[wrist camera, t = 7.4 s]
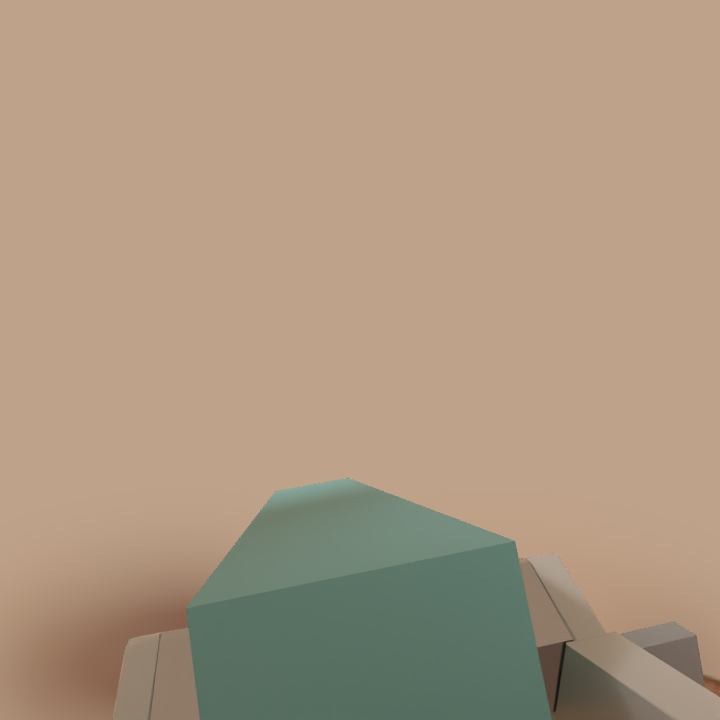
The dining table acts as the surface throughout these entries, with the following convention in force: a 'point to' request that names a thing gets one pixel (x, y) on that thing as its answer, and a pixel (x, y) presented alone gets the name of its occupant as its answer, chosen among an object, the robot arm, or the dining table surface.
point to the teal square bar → (364, 616)
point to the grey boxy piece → (670, 648)
